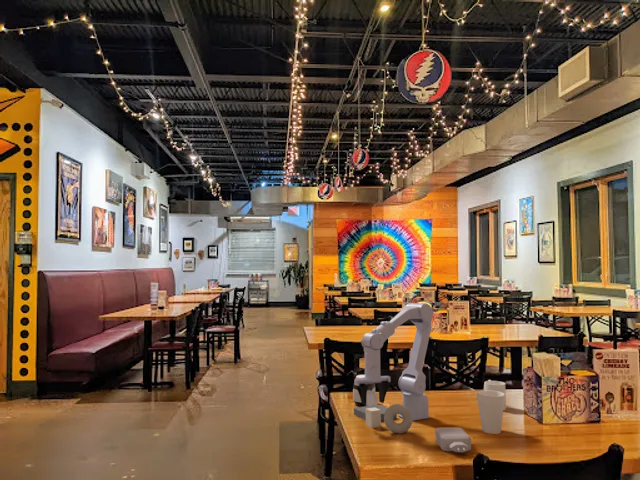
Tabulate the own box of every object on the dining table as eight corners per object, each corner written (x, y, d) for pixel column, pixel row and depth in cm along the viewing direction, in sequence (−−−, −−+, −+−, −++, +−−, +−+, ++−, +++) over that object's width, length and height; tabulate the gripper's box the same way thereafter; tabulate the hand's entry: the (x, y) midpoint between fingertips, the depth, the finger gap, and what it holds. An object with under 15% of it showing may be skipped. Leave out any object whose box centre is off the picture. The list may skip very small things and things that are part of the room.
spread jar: (362, 400, 220) (362, 373, 221) (385, 404, 213) (385, 376, 214) (348, 406, 210) (347, 378, 211) (371, 410, 204) (371, 381, 205)
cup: (498, 402, 215) (497, 378, 215) (509, 410, 203) (508, 385, 203) (479, 402, 214) (478, 379, 215) (489, 410, 202) (488, 385, 203)
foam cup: (485, 425, 183) (484, 389, 184) (510, 430, 176) (509, 393, 177) (472, 431, 176) (471, 393, 177) (497, 437, 169) (496, 398, 170)
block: (375, 423, 186) (374, 407, 186) (380, 426, 182) (380, 409, 182) (365, 425, 184) (365, 408, 184) (371, 428, 180) (371, 411, 181)
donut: (412, 432, 175) (412, 403, 176) (413, 435, 172) (412, 405, 172) (384, 431, 177) (383, 402, 177) (384, 434, 173) (383, 405, 174)
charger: (447, 459, 150) (435, 442, 165) (477, 458, 151) (463, 441, 166) (446, 442, 151) (434, 427, 166) (477, 442, 151) (462, 427, 166)
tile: (379, 410, 203) (379, 404, 203) (396, 418, 192) (396, 411, 192) (354, 414, 198) (353, 408, 198) (369, 422, 187) (369, 415, 187)
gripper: (383, 362, 191) (383, 398, 190) (350, 365, 185) (350, 403, 184) (393, 365, 185) (394, 403, 184) (359, 368, 178) (360, 407, 178)
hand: (372, 403), depth 183 cm, fingers open, 7 cm apart
